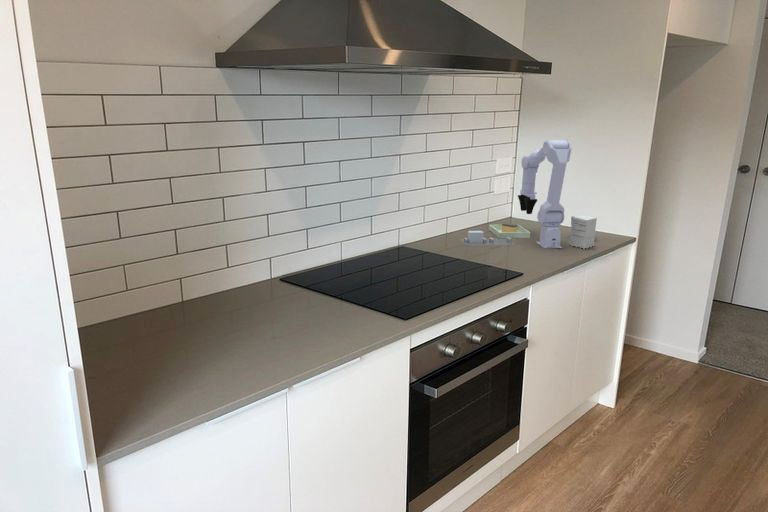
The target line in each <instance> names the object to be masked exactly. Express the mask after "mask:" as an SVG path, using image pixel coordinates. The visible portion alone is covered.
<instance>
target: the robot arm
mask: <svg viewBox="0 0 768 512" xmlns="http://www.w3.org/2000/svg"><path fill="white" fill-rule="evenodd" d="M571 154H572V144H571V143H570V141H569V140H568V139H565V140H564V139H563V140H561V139H560V140H557V139H556V140H555V139H554V140H549V139H546V140H545V141H543V145H542V147H541V148H540V149H539V148H535V149H534V151H532V153H530V154H529V155H523V156H522V159H521V168H522V169H523V170H522V181H521V182H522V183H521V189H520V193H519V194H518V195H517V198H518V202H519V206H520V211H522V212H523V211H524V212H525V213H526V215H532V214H533V210H534V207H535V206H536V204H537V203H538V199H537V198H536V195H537V194H538V192H536V191H535V190H536V189H535V188H536V178H537V177H536V176H537V173H538V170H539V167H540V164H541V163H542V162H544V161H545V160H546V159H547V161H548V162H549V163H550V164H552V168H551V175H550V180H549V185H548V192H547V197H546V201H545V202H543V203H542V204H541V205H540V207H539V210H538V212H537V216H536V218H537V222H538V223H539V224H540V232H539V233H540V235H539V241H536V242H535V243H536V244H537V245H539V246H541V247H542V248H545V249H552V248H553V249H562V248H563V246H561V240H562V232H561V230H560V228H559V227H560V226H561V224H563V222H564V221H565V208H564V206H563V205H562V204H561V203H560V201H561V195H562V190H563V186H564V185H563V184H564V180H565V179H564V178H565V174H566V169H567V168H566V167H567V163H569V161H570V160H571V159H570V158H571Z"/></svg>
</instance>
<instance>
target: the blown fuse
mask: <svg viewBox="0 0 768 512" xmlns="http://www.w3.org/2000/svg"><path fill="white" fill-rule="evenodd" d="M501 225H502V232H517V225H518V224H515V223H509V222H503V223H501Z"/></svg>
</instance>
